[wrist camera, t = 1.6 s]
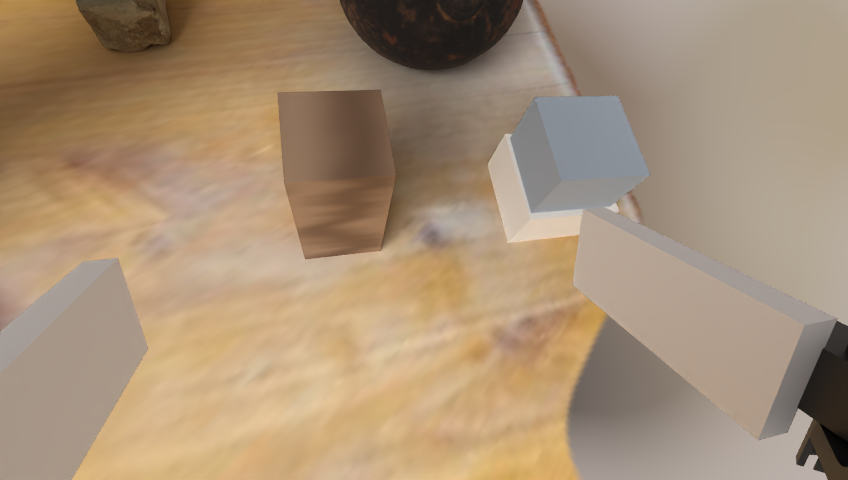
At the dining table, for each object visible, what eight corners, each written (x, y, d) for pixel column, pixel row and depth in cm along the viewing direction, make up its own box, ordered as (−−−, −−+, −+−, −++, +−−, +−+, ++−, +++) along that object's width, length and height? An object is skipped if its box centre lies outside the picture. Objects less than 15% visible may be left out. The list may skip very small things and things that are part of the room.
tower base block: (507, 243, 37) (529, 219, 32) (486, 165, 39) (504, 133, 35) (586, 234, 38) (619, 211, 34) (561, 161, 41) (588, 130, 37)
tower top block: (531, 213, 32) (561, 180, 28) (509, 138, 35) (534, 97, 30) (609, 206, 34) (650, 174, 29) (583, 135, 36) (618, 95, 32)
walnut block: (305, 259, 33) (284, 183, 22) (299, 192, 35) (277, 92, 24) (380, 250, 34) (396, 175, 23) (370, 186, 36) (380, 89, 25)
